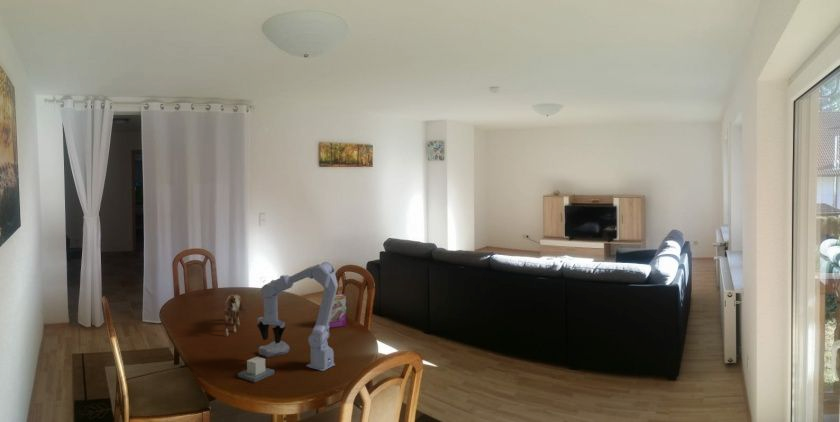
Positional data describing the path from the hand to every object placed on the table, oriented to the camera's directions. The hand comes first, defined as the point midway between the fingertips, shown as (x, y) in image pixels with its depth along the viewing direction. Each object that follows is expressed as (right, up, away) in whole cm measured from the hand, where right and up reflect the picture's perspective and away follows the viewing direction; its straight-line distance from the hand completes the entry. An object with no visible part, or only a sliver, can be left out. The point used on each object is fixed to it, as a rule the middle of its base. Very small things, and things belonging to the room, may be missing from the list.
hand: (271, 341), depth 222 cm
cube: (-2, -9, -13) cm, 16 cm away
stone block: (-2, -9, +12) cm, 15 cm away
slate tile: (-2, -11, -13) cm, 17 cm away
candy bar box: (+19, -5, +50) cm, 54 cm away
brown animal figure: (-30, -5, +46) cm, 55 cm away
